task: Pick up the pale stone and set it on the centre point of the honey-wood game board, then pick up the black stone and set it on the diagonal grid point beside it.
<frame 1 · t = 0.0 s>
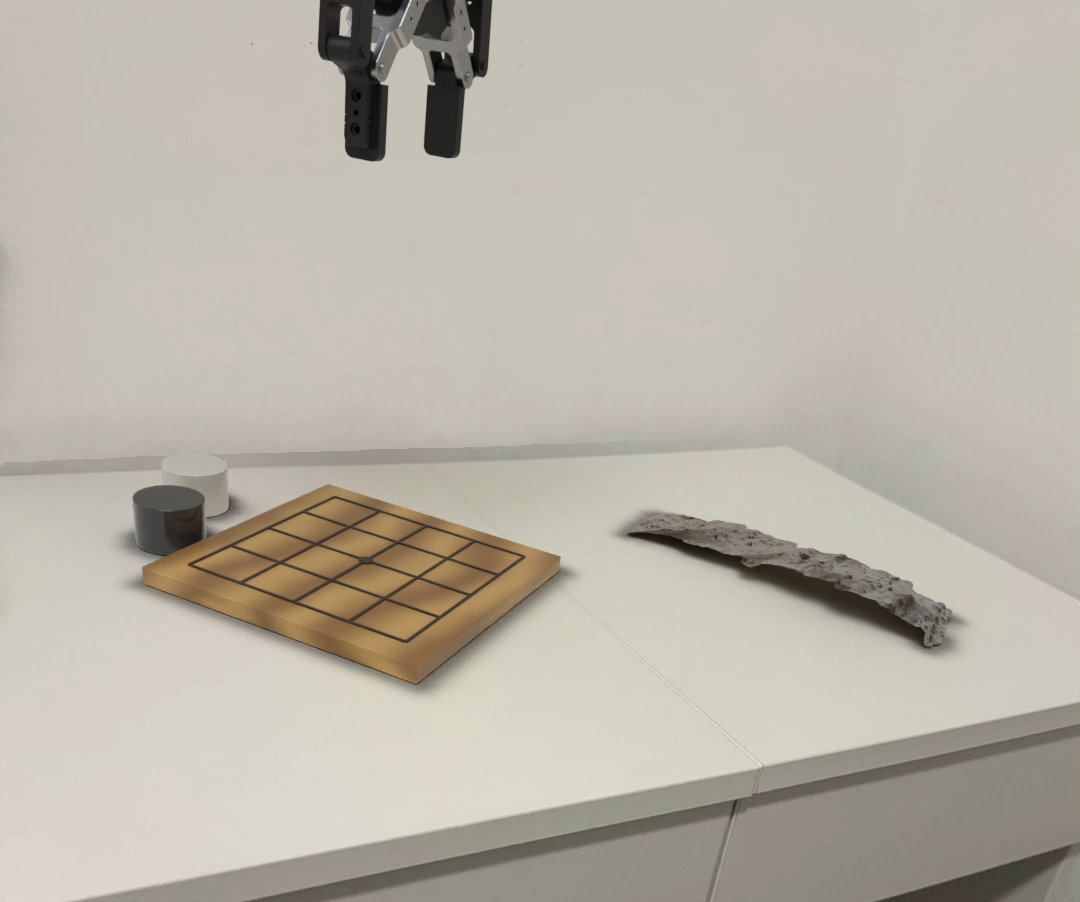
hand: (404, 157, 62), 25 cm above the table, tool pointing down, fingers open, 8 cm apart
black stone: (171, 541, 72), on the table
stone fragment: (781, 579, 81), on the table
pale stone: (196, 505, 78), on the table
board: (365, 577, 72), on the table
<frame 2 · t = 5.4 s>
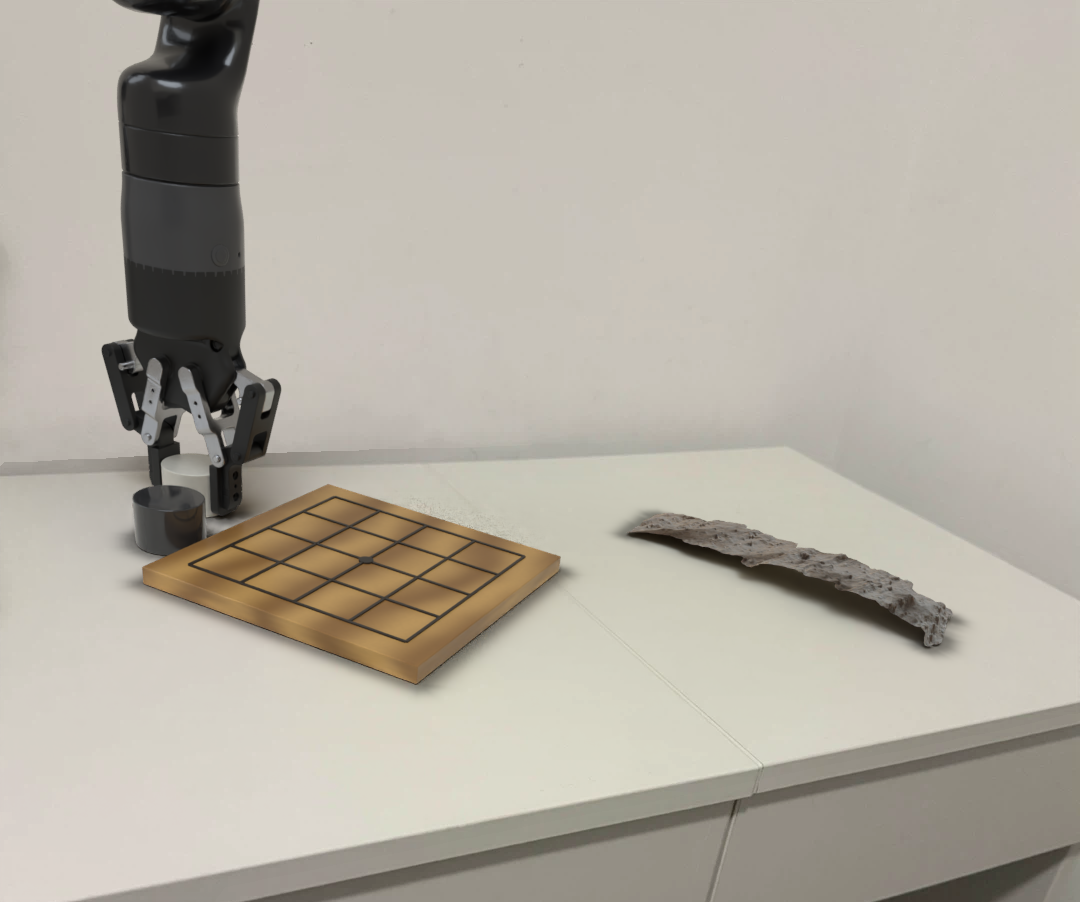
hand: (195, 501, 78), 0 cm above the table, tool pointing down, fingers closed on pale stone, 4 cm apart
pale stone: (196, 506, 78), on the table, touching gripper
everything else where it was.
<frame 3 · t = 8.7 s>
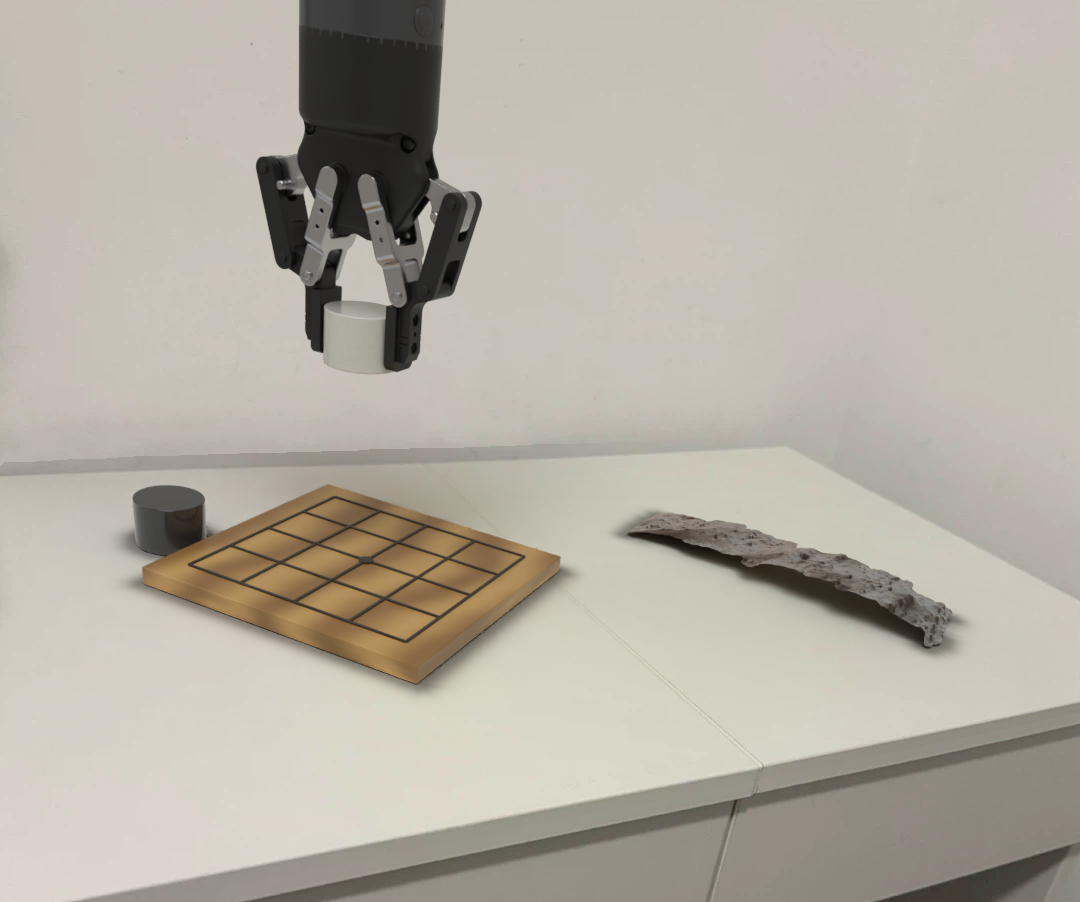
hand: (361, 358, 65), 14 cm above the table, tool pointing down, fingers closed on pale stone, 4 cm apart
pale stone: (361, 364, 65), point 14 cm above the table, touching gripper
everything else where it was.
when the fingers open (2 cm above the table, at t = 12.0 s): pale stone stays where it is, resting on board.
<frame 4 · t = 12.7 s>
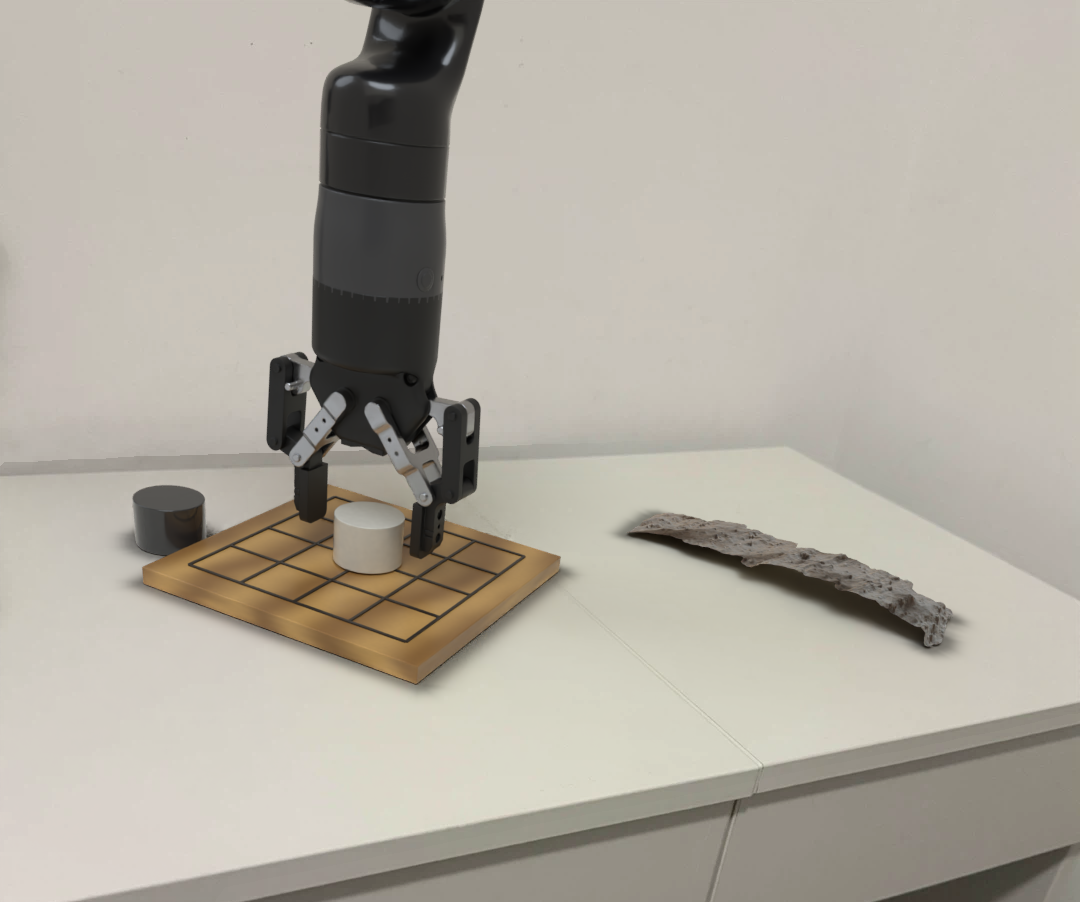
hand: (366, 536, 70), 3 cm above the table, tool pointing down, fingers open, 8 cm apart
pale stone: (367, 559, 71), point 1 cm above the table, touching board
everything else where it was.
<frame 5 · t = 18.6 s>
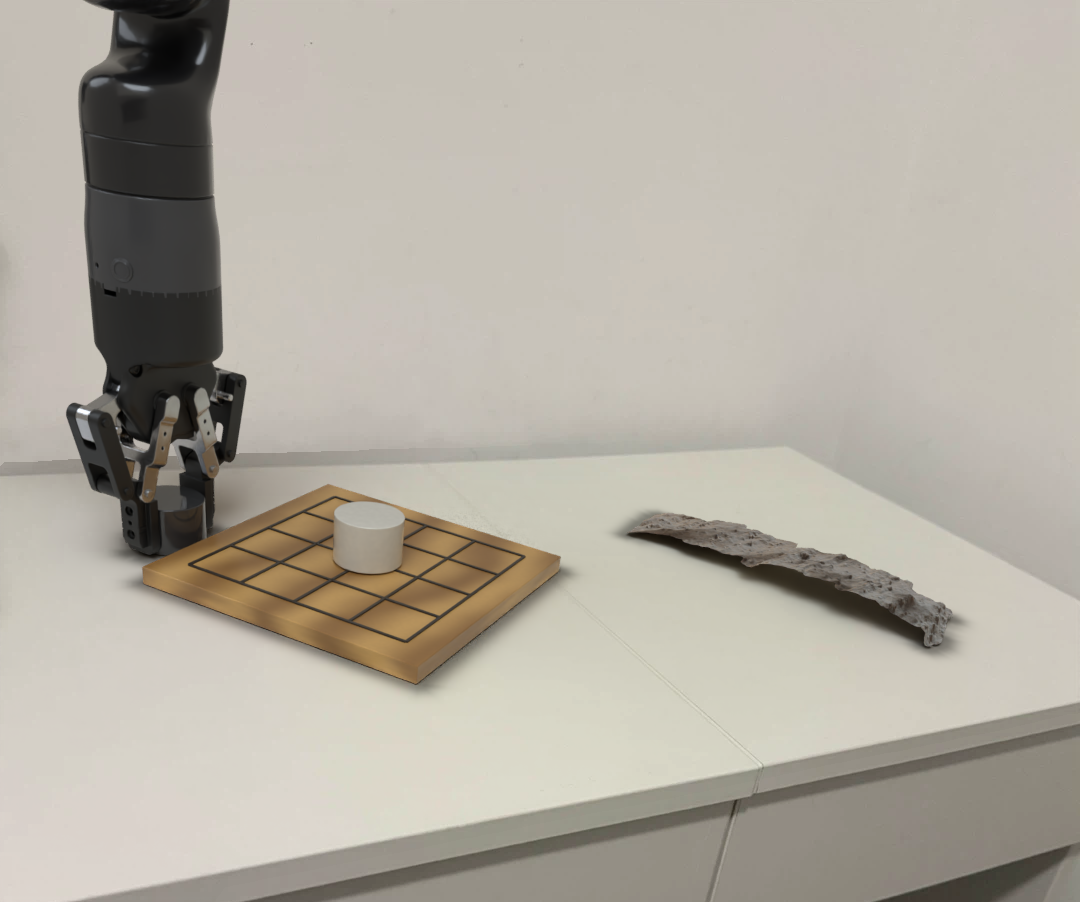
hand: (171, 537, 72), 0 cm above the table, tool pointing down, fingers closed on black stone, 4 cm apart
black stone: (171, 541, 72), on the table, touching gripper
everything else where it was.
when the fingers open (2 cm above the table, at t = 25.3 s): black stone stays where it is, resting on board.
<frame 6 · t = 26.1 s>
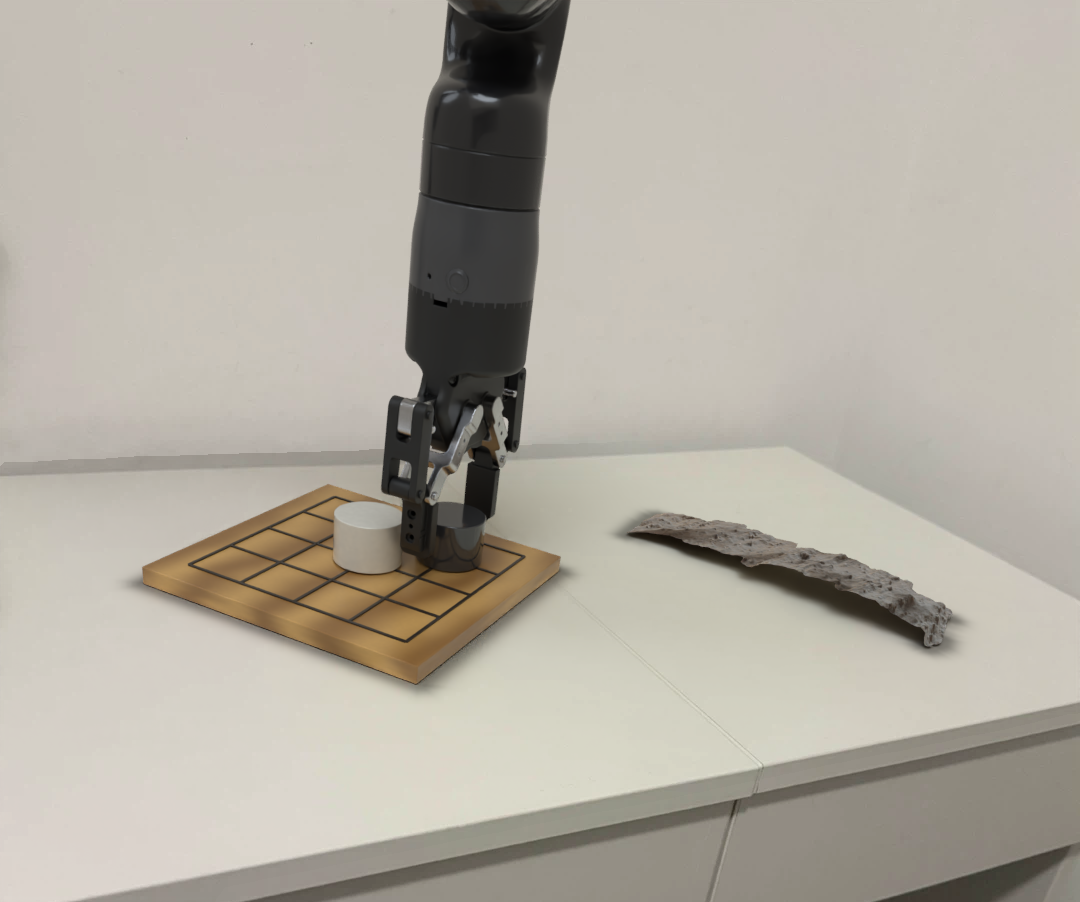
hand: (448, 534, 72), 3 cm above the table, tool pointing down, fingers open, 8 cm apart
black stone: (448, 557, 73), point 1 cm above the table, touching board
everything else where it was.
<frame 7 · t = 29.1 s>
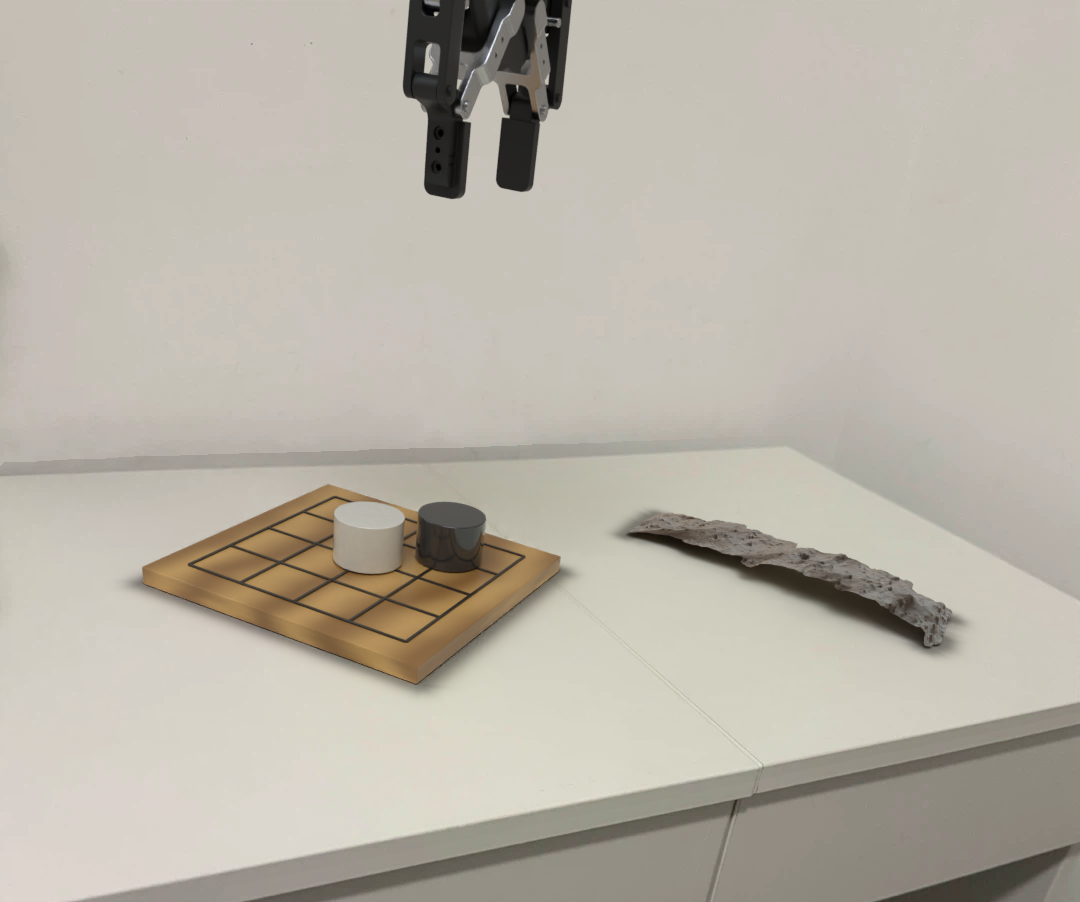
hand: (480, 193, 61), 24 cm above the table, tool pointing down, fingers open, 8 cm apart
nothing on the table moved.
at the end: pale stone 0.1 cm off-centre on the board, point 1.3 cm above the board's base; black stone 0.1 cm from the target spot on the board, point 1.3 cm above the board's base; black stone tilted 0° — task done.
